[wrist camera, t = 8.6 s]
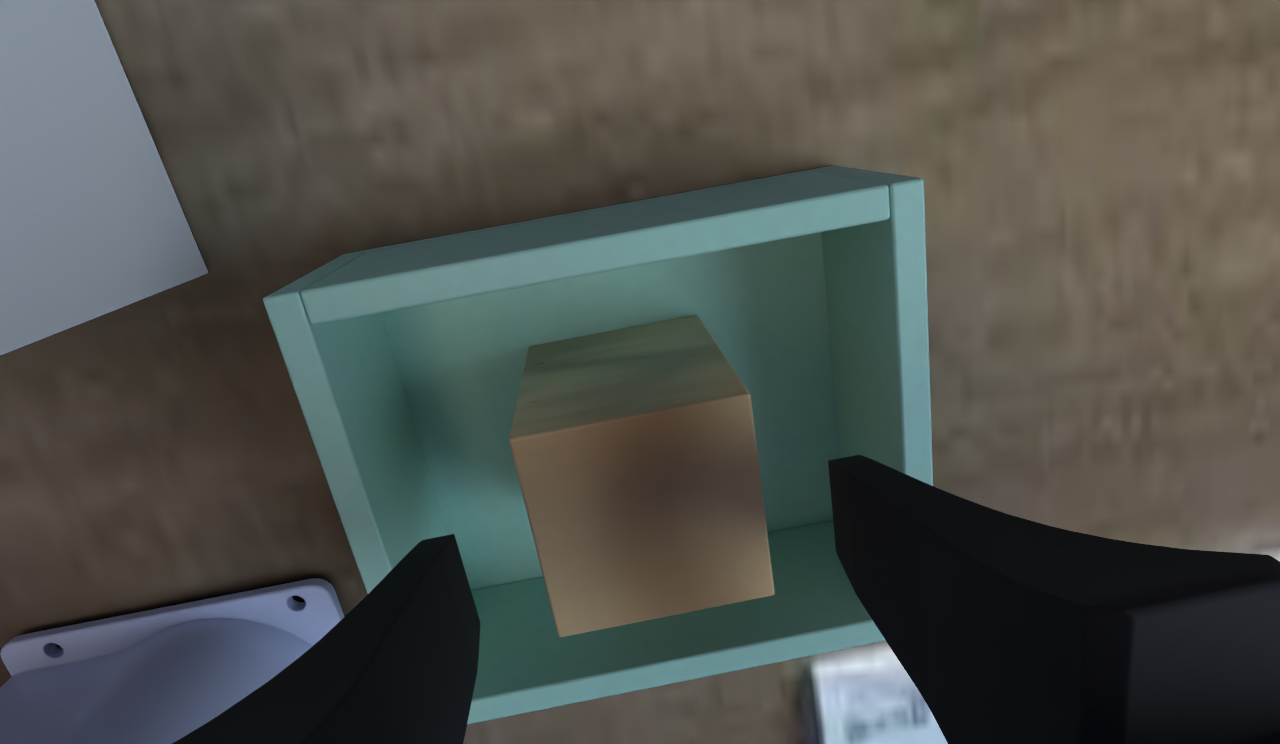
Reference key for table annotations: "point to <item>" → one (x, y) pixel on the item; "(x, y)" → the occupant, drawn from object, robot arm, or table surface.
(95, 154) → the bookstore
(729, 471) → the beech block
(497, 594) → the desk bin
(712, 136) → the table surface
